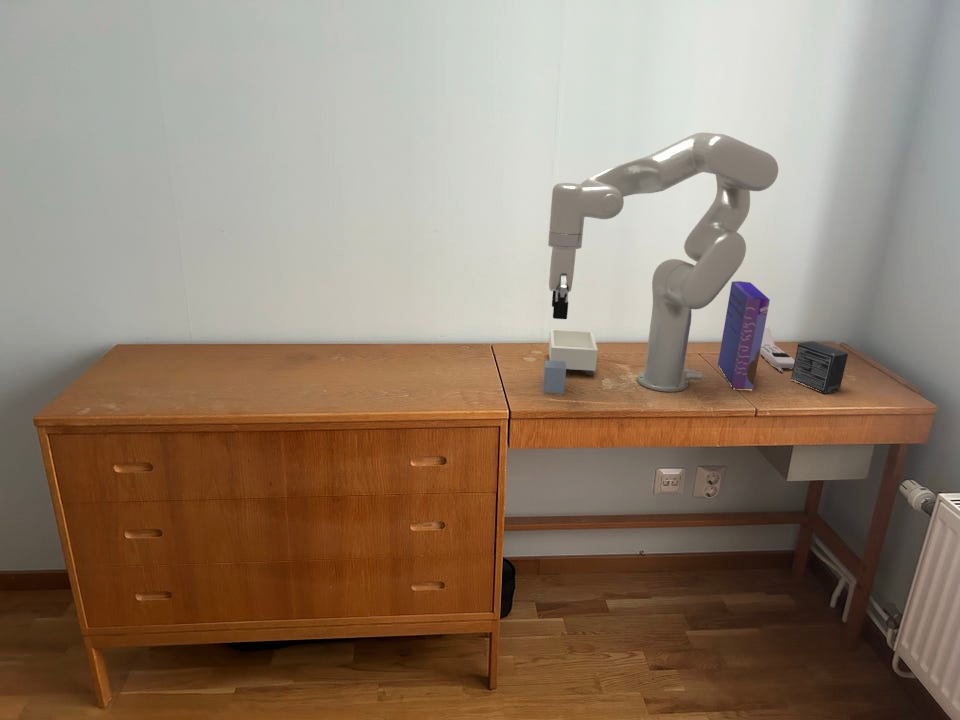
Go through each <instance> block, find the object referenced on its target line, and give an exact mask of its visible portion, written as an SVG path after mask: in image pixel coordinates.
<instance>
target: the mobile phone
mask: <svg viewBox="0 0 960 720" xmlns="http://www.w3.org/2000/svg"><path fill="white" fill-rule="evenodd" d="M767 327H768V328H764V333H763V339H762V344H761V349H760V353H761V354H762V355H763V356H764V357H765V358H766V359H767V360H769V362H771V363H772V364H773V365H774V366H775V367H777V368H778V369H780V370H781V371H783V372H784V369H781V368H793V367H794V362H795V358H793V357H792V355H789V353H786V352H785V351H783V350H782V349H781V348H779V347H778V346H777V345H775V341H774V338H773V335H772V331H771V328H770V327H769V326H767Z"/></svg>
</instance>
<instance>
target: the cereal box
mask: <svg viewBox="0 0 960 720" xmlns="http://www.w3.org/2000/svg"><path fill="white" fill-rule="evenodd" d="M770 302H771V299H770V298H769V297H767V295H765V294H764V293H763V292H762V291H761V290H760V289H758V288H757V287H756V286H755V285H754V284H753V283H752V282H750V281H742V280H737V281H731V284H730V291H729V297H728V301H727V308H726V314H725V320H724V326H723V332H722V333H723V334H722V338H721V343H720V344H721V345H720V350H719V355H718V363H717V364H718V365H719V366H720V368H721V369H722V371H723V373H724V374H725V376H726V378H727V379H728V381H729V382H730V383H731V385H732V387H733V388H735V389H753V390H754V386H755V382H756V381H755V380H756V374H757V370H758V364H759V360H760V349H761V344H762V339H763V333H764V328H765V327H766V323H767V317H768V312H769V306H770ZM718 365H717V366H718ZM723 373H722V374H723ZM726 378H725V379H726ZM728 381H727V382H728ZM732 387H731V388H732Z"/></svg>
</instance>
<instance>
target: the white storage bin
mask: <svg viewBox="0 0 960 720" xmlns="http://www.w3.org/2000/svg"><path fill="white" fill-rule="evenodd" d="M598 351H599V349H598V346H597V342H596V338H595V335H594V331H588V330H575V329H574V330H572V329H571V330H570V329H555V328H550V329H549V342H548V356H549V361H565V363H566V370H576V371H578V370H580V371H583V372H584V374H585V375H586V376H592V375H593V374H594V372H596V370H597V362H598V360H597V359H598Z"/></svg>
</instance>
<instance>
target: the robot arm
mask: <svg viewBox="0 0 960 720" xmlns="http://www.w3.org/2000/svg"><path fill="white" fill-rule="evenodd" d="M701 173H705V174H706V173H707V174H711V175H715V180H716V196H715V198H714V200H713V202H712V204H711V205H710V207H709V208H708V210H707V211H706V212H705V214H704V215H703V216H702V218H700V220H699V221H698V222H697V224H696V225H695V226H694V228H693V229H692V230H691V232H690V233H689V234H688V236H687V237H686V239H685V240H684V241H685V242H684V245H683V248H684V252H685V254H686V255H687V257H688V258H689V259H691V260H692V261H694V262H696V263H695V265H694V264H692V263H690V262H687V261H684V260H681V259H677V258H670V259H667V260H665V261H662V262H661V263H660V264H659V265H658V266H656V268H655V270H654V273H653V275H652V283H651V285H652V287H651V290H652V310H651V316H650V317H651V318H650V319H651V320H650V325H649V333H648V340H647V341H648V342H647V349H646V356H645V364H644V370H643V371H640V372H639V373H638V374H637V376H636V378H637V382H638V383H639V385H641V386H643V387H645V388H648V389H651V390H653V391H659V392H668V393H670V392H681V391H684V390H686V389H687V388H688V386H689V381H690V380H695V381H702V380H703V372H696V370H695V369H686V367H685V364H686V357H687V352H688V351H687V350H688V343H689V337H690V330H691V323H692V315H693V314H692V310H699V309H703V308H705V307H707V306H708V305H709V304H710V303H711V302H713V301H714V300H715V298H717V296H718V295H719V294H720V292H722V290H723V288H724V287H725V286H726V285H727V284H728V283H729V281H730V280H731V278H732V277H734V275H735V273H736V272H737V271H738V269H739V268H740V267H741V265H742V264H743V262H744V259H745V257H746V253H747V244H746V240H745V238H744V237H743V235H742V234H740V233H739V232H738V231H739V229H740V228H741V226H742V225H743V224H744V222H745V221H746V219H747V216H748V215H749V212H750V209H751V208H750V207H751V192H762V191H765V190H767V189H769V188H770V187H772V186H773V184H774V183H775V182H776V180H777V177H778V175H779V166H778V162H777V160H776V158H775V157H774V156H773V155H772V154H770V153H769V152H766V151H765V150H762V149H759V148H757V147H755V146H752V145H751V144H748V143H745V142H743V141H741V140H739V139H737V138H735V137H732V136H729V135H726V134H723V133H713V132H711V133H710V132H698V133H694V134H692V135H689V136H687V137H685V138H682V139H681V140H679V141H677V142H674V143H672V144H670V145H669V146H667V147H664V148H662V149H659V150H658V151H656V152H654V153H652V154H649V155H647V156H643V157H642V158H637V159H635V160H632V161H629V162H625V163H623V164H619V165H617V166H614V167H611V168H608V169H605V170H603V171H602V172H599V173H598V174H595V175H592V176H591V177H589V178H587V179H585V180H584V181H582V182H581V183H571V182H560V183H556V184H555V185H554V186H553V187H552V193H551V206H550V218H549V220H550V221H549V230H548V245H547V246H548V247H550V248H552V249H551V257H550V265H549V266H550V268H549V270H550V271H549V277H548V278H549V279H548V287H549V288H548V289H549V290H550V292H552V300H551V307H552V308H553V309H552V318H553V319H554V320H567V319H568V311H569V310H568V309H569V292H571V290H572V287H573V280H574V271H575V262H576V252H577V250H578V249H582V245H583V235H584V226H585V225H584V224H585V218H591V219H592V218H593V219H599V220H610V219H613V218H615V217H616V216H618V215H619V214H620V213H621V211H622V210H623V207H624V204H625V202H624V201H625V200H624V199H625V198H624V197H628V196H633V195H640V194H641V195H643V194H646V195H647V194H655V193H659V192H660V193H661V192H664V191H666V190H667V189H670V188H672V187H674V186H676V185H678V184H680V183H682V182H684V181H685V180H688V179H690V178H692V177H695V176H697V175H698V174H701Z"/></svg>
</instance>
